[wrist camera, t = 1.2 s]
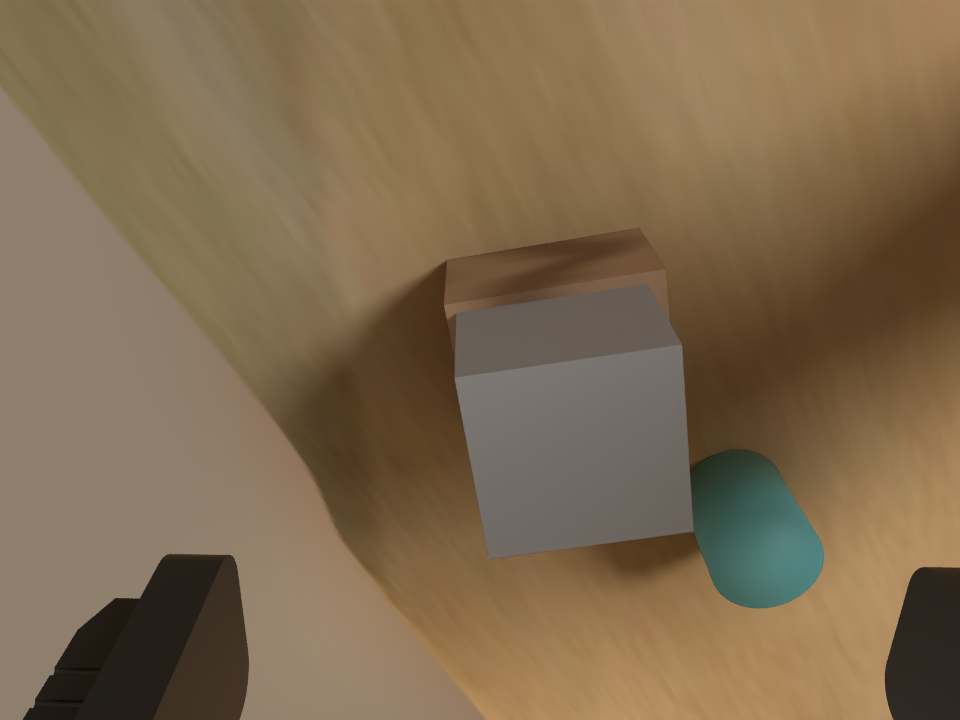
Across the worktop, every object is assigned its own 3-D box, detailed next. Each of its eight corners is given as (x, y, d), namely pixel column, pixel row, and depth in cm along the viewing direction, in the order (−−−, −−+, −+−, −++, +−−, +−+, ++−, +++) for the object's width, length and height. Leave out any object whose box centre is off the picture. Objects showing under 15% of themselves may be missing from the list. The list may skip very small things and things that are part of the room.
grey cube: (647, 284, 29) (682, 344, 24) (660, 449, 31) (693, 531, 27) (456, 312, 29) (454, 377, 24) (485, 473, 32) (488, 559, 27)
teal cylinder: (798, 463, 37) (843, 532, 33) (755, 542, 39) (793, 618, 35) (705, 438, 37) (739, 505, 32) (666, 519, 38) (693, 593, 34)
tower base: (638, 226, 33) (665, 268, 28) (654, 397, 36) (681, 459, 32) (446, 258, 33) (443, 305, 29) (479, 424, 36) (480, 489, 32)
